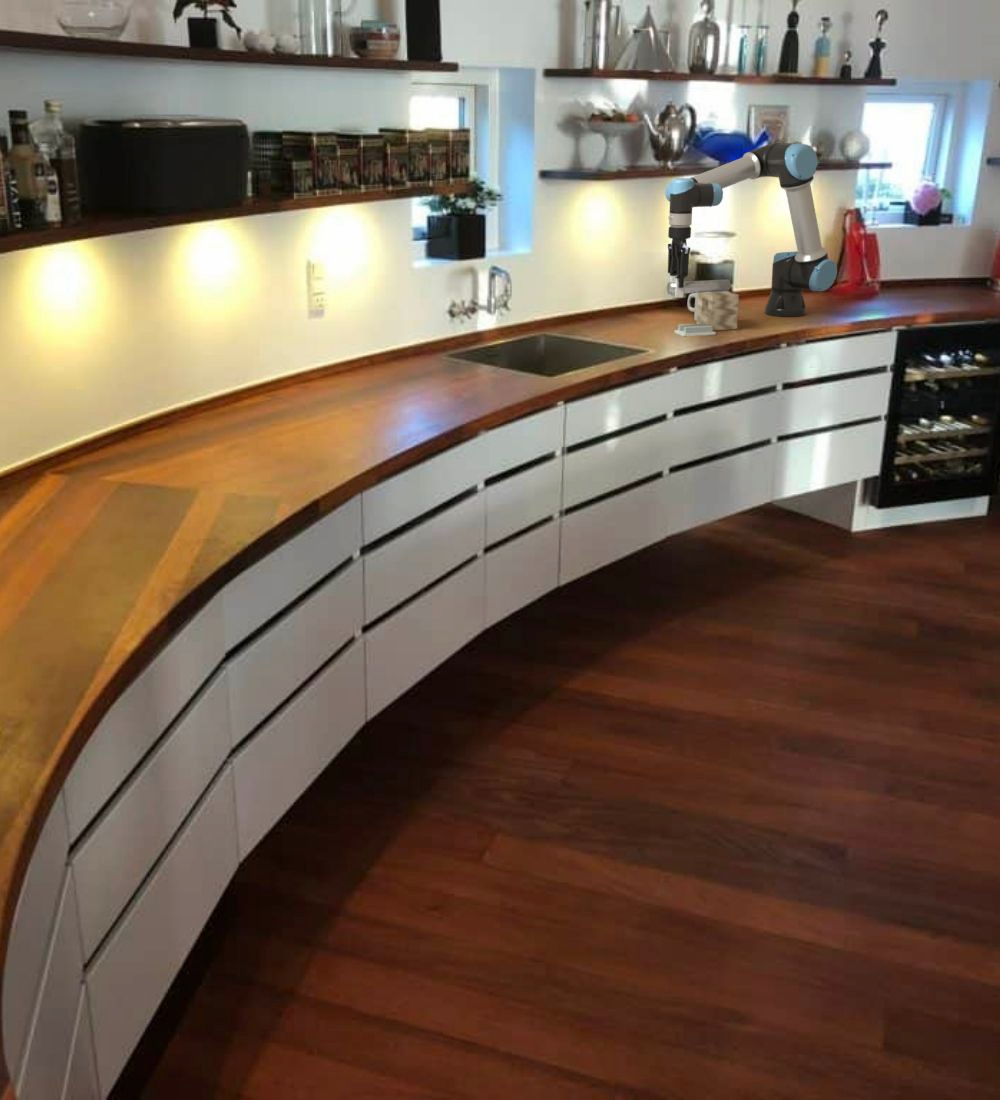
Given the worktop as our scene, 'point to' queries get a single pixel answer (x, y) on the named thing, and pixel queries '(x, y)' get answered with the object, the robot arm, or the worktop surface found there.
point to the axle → (701, 286)
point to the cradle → (694, 329)
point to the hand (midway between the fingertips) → (676, 296)
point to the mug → (695, 304)
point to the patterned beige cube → (718, 309)
